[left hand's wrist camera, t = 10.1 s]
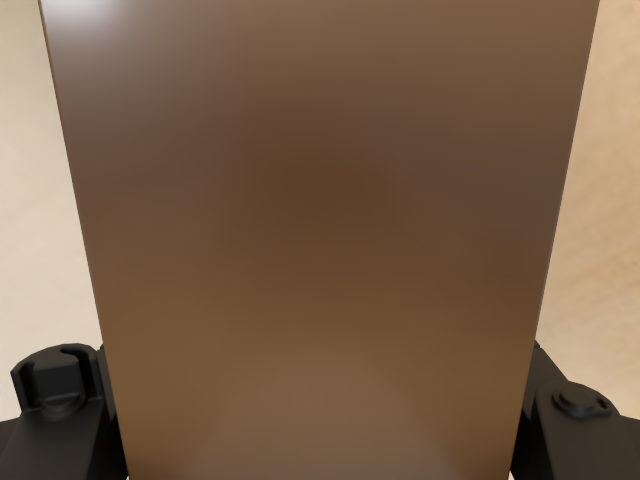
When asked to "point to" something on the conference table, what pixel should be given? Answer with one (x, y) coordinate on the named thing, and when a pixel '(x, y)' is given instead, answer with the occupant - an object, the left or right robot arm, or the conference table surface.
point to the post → (318, 224)
